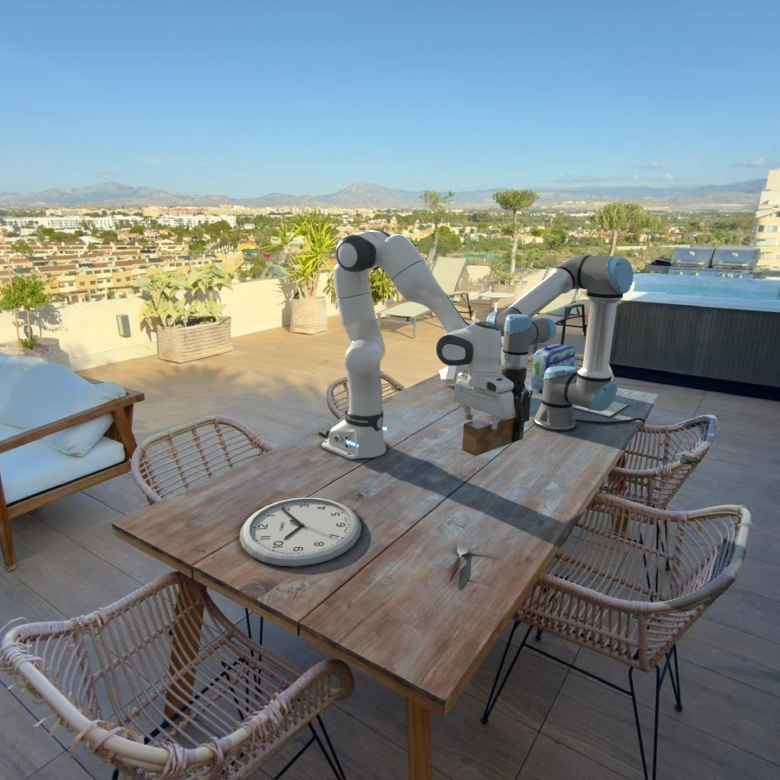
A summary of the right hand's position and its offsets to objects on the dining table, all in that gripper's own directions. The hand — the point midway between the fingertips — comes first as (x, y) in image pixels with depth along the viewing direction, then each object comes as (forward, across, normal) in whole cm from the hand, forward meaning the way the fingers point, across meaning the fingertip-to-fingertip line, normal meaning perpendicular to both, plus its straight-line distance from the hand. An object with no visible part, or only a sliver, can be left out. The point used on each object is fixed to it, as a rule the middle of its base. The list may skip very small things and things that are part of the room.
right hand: (507, 437), depth 164 cm
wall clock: (+10, -7, -70) cm, 71 cm away
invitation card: (+11, -15, +81) cm, 83 cm away
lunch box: (+11, -44, +86) cm, 97 cm away
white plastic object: (+11, -60, +53) cm, 80 cm away
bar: (+1, 0, -7) cm, 7 cm away
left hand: (-8, 0, -13) cm, 15 cm away
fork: (+10, +26, -48) cm, 55 cm away
